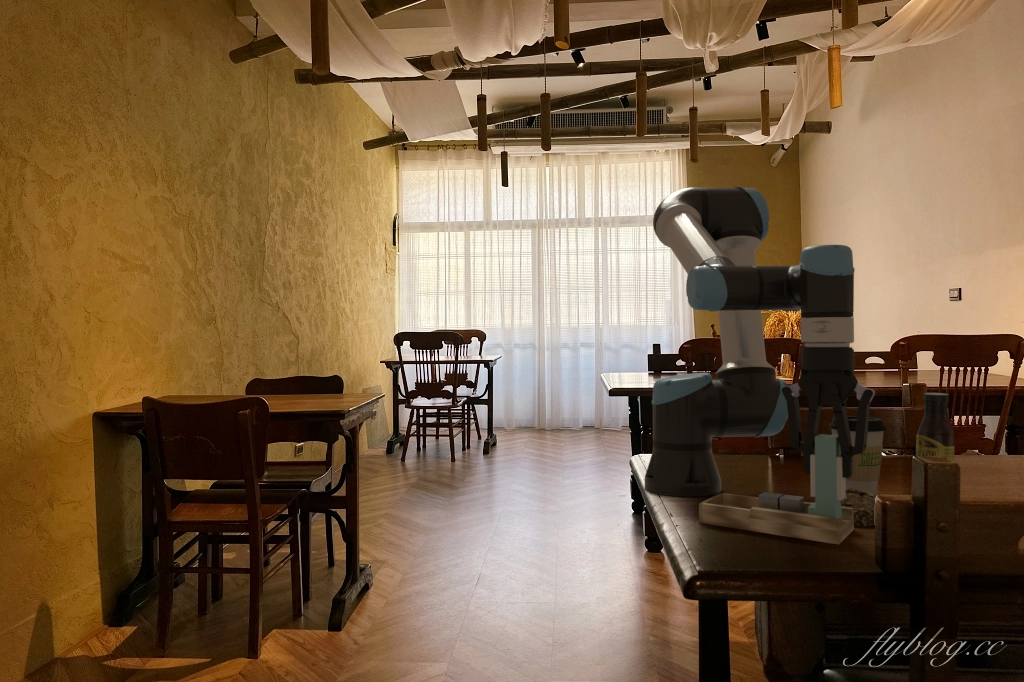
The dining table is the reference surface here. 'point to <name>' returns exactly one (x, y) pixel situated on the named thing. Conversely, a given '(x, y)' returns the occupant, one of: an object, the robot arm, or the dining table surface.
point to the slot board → (774, 519)
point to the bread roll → (860, 506)
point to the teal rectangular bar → (826, 477)
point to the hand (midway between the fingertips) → (828, 496)
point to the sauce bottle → (935, 428)
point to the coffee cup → (865, 455)
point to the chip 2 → (792, 504)
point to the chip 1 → (770, 500)
